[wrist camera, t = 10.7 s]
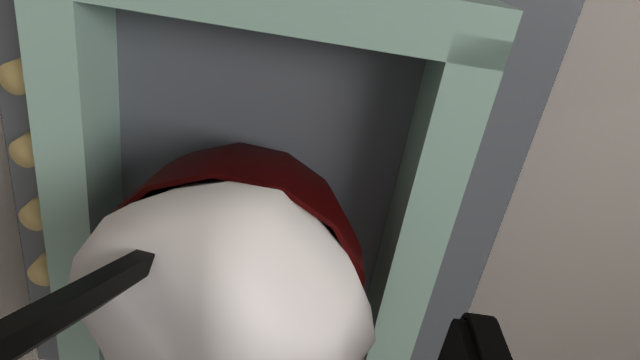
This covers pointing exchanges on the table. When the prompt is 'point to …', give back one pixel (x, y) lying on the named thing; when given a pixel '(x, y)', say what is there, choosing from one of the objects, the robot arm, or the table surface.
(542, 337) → the table surface
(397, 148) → the holder board
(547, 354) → the table surface
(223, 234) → the cocoa
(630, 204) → the table surface
